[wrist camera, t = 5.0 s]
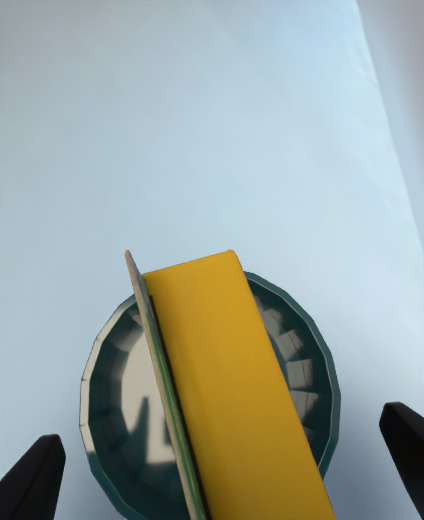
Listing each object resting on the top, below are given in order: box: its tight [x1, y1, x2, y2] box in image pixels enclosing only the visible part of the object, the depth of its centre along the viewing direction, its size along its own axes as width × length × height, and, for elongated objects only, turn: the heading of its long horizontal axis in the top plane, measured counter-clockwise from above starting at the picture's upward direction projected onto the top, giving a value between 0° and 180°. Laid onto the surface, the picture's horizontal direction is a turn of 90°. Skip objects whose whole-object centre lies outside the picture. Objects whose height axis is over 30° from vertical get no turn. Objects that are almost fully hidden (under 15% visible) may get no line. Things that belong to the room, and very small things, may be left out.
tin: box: [79, 271, 341, 520], centre depth 15 cm, size 11×11×4 cm
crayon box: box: [125, 250, 336, 520], centre depth 11 cm, size 7×3×12 cm, turn 18°
